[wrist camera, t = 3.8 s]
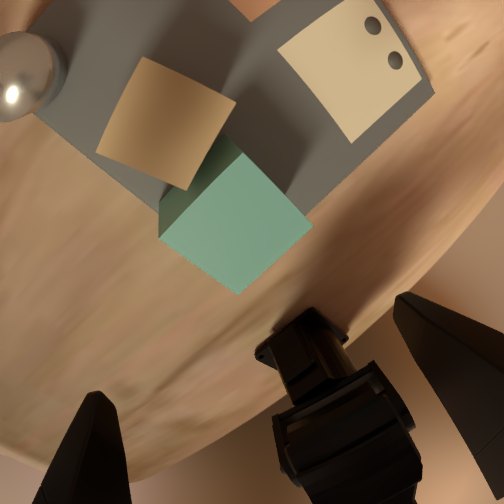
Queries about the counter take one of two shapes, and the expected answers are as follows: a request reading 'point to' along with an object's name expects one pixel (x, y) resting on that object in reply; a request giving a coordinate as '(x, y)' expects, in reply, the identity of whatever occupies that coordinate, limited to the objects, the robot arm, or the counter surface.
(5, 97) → the metal tin
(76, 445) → the robot arm
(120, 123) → the oak cube
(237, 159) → the green cube
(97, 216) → the counter surface
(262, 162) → the board
